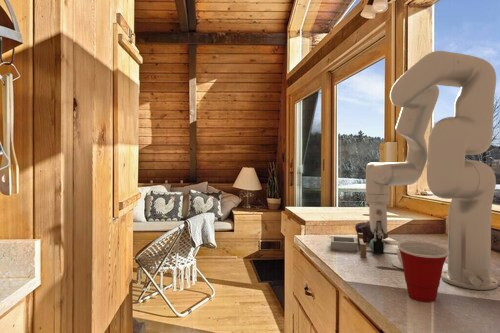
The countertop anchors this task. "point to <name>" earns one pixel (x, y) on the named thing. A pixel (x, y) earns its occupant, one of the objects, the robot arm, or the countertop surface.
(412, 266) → the plastic cup
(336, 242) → the dish
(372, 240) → the ball
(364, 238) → the rock
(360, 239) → the rail
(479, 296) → the countertop surface
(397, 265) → the teacup
